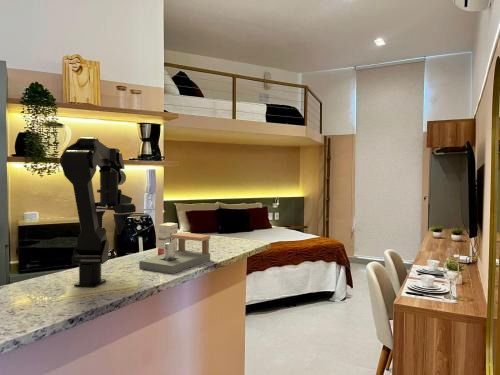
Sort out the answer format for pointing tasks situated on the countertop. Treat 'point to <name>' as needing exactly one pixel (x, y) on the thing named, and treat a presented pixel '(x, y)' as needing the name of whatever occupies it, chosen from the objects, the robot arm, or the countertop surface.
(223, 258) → the countertop surface
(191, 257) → the socket board
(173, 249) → the peg
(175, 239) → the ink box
